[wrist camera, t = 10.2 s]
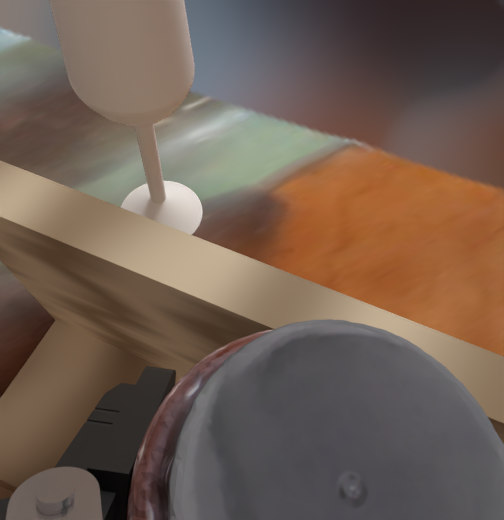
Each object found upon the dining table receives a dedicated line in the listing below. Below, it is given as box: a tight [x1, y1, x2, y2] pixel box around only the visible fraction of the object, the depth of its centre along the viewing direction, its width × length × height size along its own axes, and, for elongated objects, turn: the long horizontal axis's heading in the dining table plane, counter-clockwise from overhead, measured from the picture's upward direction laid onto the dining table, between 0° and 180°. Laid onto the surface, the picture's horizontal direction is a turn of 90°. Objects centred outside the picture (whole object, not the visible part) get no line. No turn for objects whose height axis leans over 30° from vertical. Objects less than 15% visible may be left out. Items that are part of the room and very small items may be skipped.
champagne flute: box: [49, 0, 203, 235], centre depth 23 cm, size 7×7×24 cm
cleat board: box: [0, 161, 504, 500], centre depth 18 cm, size 24×11×16 cm, turn 68°
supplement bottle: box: [127, 319, 504, 520], centre depth 9 cm, size 6×6×11 cm
